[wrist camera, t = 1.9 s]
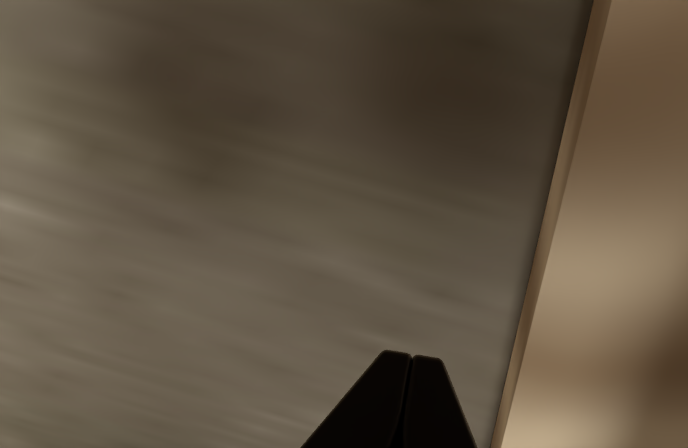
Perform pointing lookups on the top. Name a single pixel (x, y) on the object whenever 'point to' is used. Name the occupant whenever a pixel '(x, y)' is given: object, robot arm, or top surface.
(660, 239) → the wooden base tray
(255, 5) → the top surface
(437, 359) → the robot arm
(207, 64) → the top surface
